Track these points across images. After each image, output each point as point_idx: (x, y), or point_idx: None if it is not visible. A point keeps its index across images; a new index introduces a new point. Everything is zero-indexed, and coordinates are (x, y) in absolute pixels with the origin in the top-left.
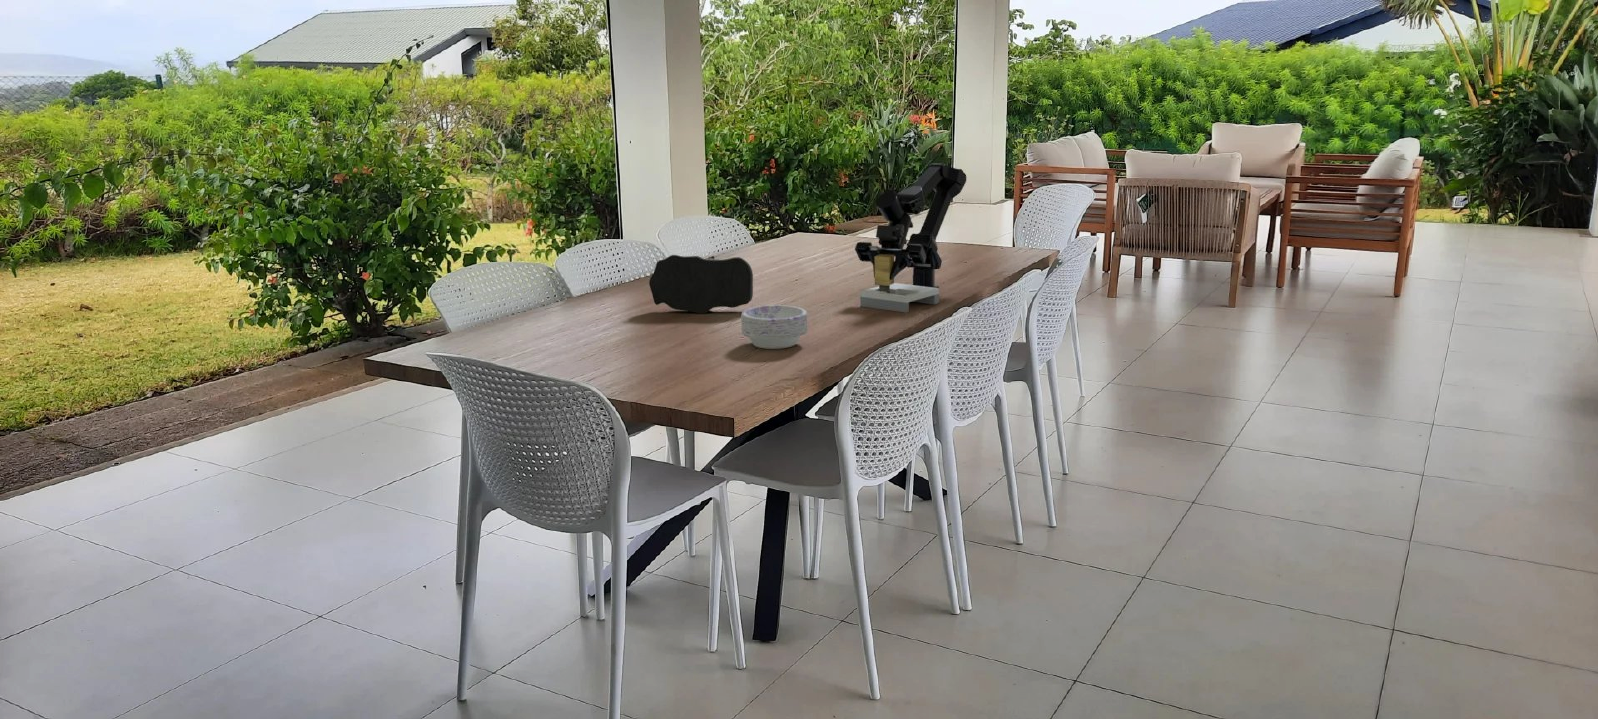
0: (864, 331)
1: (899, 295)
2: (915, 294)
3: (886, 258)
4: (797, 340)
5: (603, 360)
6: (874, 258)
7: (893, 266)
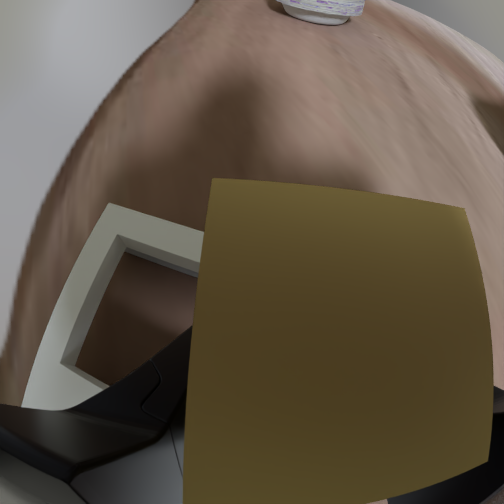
0: (212, 55)
1: (144, 226)
2: (72, 271)
3: (260, 195)
4: (283, 6)
5: (408, 14)
6: (495, 400)
7: (188, 366)
